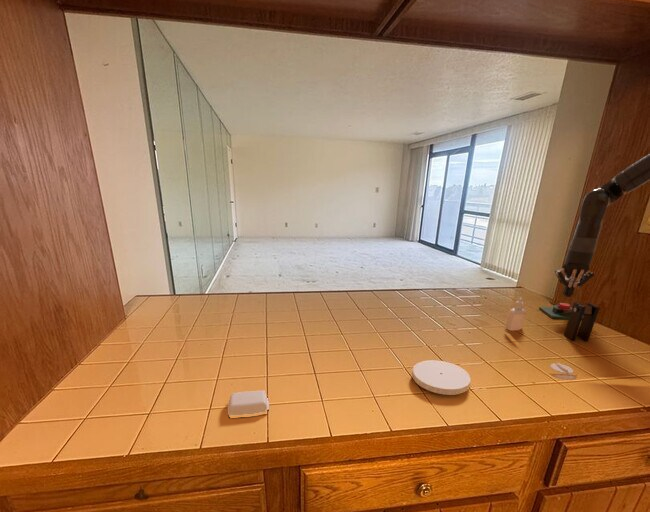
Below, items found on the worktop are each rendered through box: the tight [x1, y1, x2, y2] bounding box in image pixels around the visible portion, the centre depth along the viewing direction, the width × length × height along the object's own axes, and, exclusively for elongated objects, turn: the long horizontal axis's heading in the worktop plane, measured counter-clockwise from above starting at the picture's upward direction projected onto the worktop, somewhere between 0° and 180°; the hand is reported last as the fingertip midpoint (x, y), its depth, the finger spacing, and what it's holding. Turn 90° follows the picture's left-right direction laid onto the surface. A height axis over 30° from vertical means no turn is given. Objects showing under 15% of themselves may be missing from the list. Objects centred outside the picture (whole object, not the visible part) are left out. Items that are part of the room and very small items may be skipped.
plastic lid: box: [411, 359, 472, 396], centre depth 88 cm, size 14×14×2 cm
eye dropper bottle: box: [504, 297, 527, 334], centre depth 116 cm, size 4×6×12 cm
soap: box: [227, 389, 270, 416], centre depth 76 cm, size 9×7×3 cm
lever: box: [555, 305, 592, 315], centre depth 113 cm, size 13×5×2 cm, turn 175°
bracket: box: [563, 301, 600, 343], centre depth 109 cm, size 10×8×13 cm
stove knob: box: [549, 362, 578, 381], centre depth 93 cm, size 7×7×2 cm
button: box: [558, 302, 571, 309], centre depth 130 cm, size 4×4×2 cm
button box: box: [538, 304, 583, 321], centre depth 131 cm, size 12×10×4 cm
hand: (567, 296), depth 128 cm, fingers closed
